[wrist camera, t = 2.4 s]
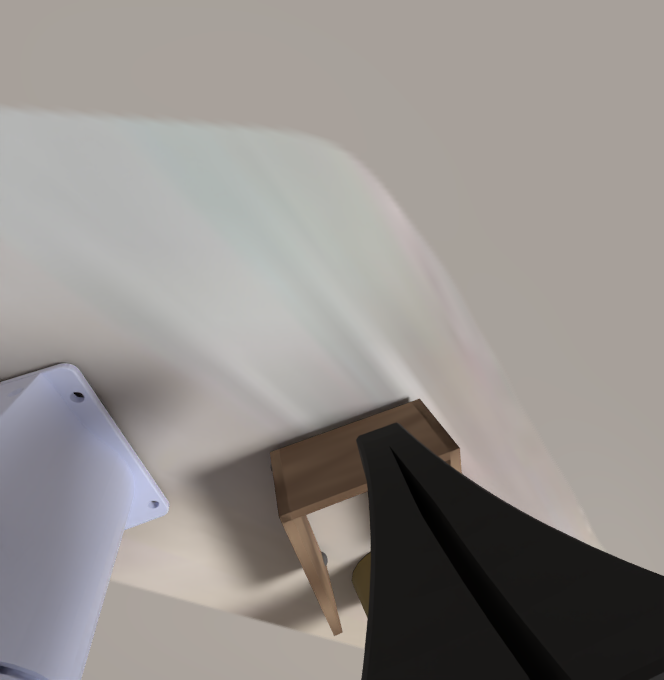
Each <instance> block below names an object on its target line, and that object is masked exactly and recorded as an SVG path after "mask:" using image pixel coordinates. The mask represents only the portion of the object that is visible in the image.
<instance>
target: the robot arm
mask: <svg viewBox="0 0 664 680" xmlns="http://www.w3.org/2000/svg"><path fill="white" fill-rule="evenodd" d="M74 392H79V393H82V394H83V395H84V397H77V396H76V395H74ZM356 442H357V446H358V450H359V454H360V458H361V461H362V465H363V469H364V473H365V477H366V480H367V488H368V496H369V510H370V530H371V569H370V592H369V609H368V621H367V632H366V642H365V653H364V663H363V671H362V679H361V680H664V576H662V575H659V574H657V573H654V572H652V571H649V570H647V569H644V568H641V567H639V566H637V565H634V564H632V563H629V562H627V561H624V560H622V559H619V558H617V557H615V556H613V555H611V554H608V553H606V552H604V551H601V550H599V549H597V548H594V547H592V546H590V545H588V544H586V543H584V542H582V541H580V540H577V539H575V538H573V537H571V536H569V535H567V534H565V533H563V532H561V531H559V530H557V529H555V528H553V527H551V526H548V525H546V524H544V523H542V522H541V521H539V520H537V519H535V518H533V517H531V516H529V515H528V514H526V513H524V512H522V511H520V510H518V509H517V508H515V507H513V506H512V505H510V504H508V503H506V502H505V501H503V500H501V499H500V498H498V497H496V496H495V495H493V494H492V493H490V492H488V491H487V490H485V489H484V488H482V487H481V486H479V485H478V484H476V483H475V482H473V481H472V480H470V479H469V478H467V477H466V476H464V475H463V474H461V473H460V472H459V471H457V470H456V469H454V468H453V467H452V466H450V465H449V464H448V463H446V462H445V461H444V460H442V459H441V458H440V457H438V456H437V455H436V454H434V453H433V452H432V451H431V450H429V449H428V448H427V447H426V446H425V445H423V444H422V443H421V442H420V441H418V440H417V439H416V438H415V437H414V436H413V435H412V434H410V433H409V432H408V431H407V430H406V429H405V428H404V427H403V426H402V425H401V424H399V423H397V422H396V423H393V424H390V425H387V426H385V427H382V428H379V429H376V430H373V431H371V432H368V433H365V434H362V435H359V436H358V438H357V439H356ZM151 501H157V502H151ZM168 510H169V502H168V500H167V499H166V497H165V496H164V494H163V493H162V491H161V490H160V488H159V487H158V485H157V484H156V482H155V481H154V479H153V478H152V477H151V475H150V474H149V472H148V471H147V469H146V468H145V466H144V465H143V463H142V462H141V460H140V459H139V457H138V456H137V454H136V453H135V451H134V450H133V448H132V447H131V445H130V444H129V443H128V441H127V440H126V438H125V437H124V435H123V434H122V432H121V431H120V429H119V428H118V426H117V425H116V423H115V422H114V420H113V419H112V417H111V416H110V414H109V413H108V411H107V410H106V409H105V407H104V406H103V404H102V403H101V401H100V400H99V398H98V397H97V395H96V394H95V392H94V391H93V389H92V388H91V386H90V385H89V383H88V382H87V380H86V379H85V377H84V376H83V374H82V373H81V372H80V370H79V369H78V368H77V367H76V366H74V365H72V364H68V363H62V364H58V365H54V366H51V367H48V368H44V369H41V370H38V371H35V372H31V373H28V374H25V375H22V376H18V377H15V378H12V379H9V380H5V381H2V382H0V680H81V677H82V674H83V670H84V667H85V664H86V660H87V657H88V653H89V650H90V646H91V643H92V639H93V636H94V632H95V629H96V625H97V621H98V619H99V615H100V612H101V608H102V605H103V601H104V598H105V594H106V591H107V587H108V584H109V581H110V577H111V574H112V570H113V567H114V563H115V560H116V556H117V553H118V549H119V546H120V542H121V539H122V536H123V532H124V530H126V529H129V528H131V527H134V526H137V525H140V524H142V523H145V522H148V521H151V520H153V519H156V518H159V517H161V516H164V515H165V514H167V512H168Z"/></svg>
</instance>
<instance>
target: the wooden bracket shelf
mask: <svg viewBox="0 0 664 680" xmlns="http://www.w3.org/2000/svg"><path fill="white" fill-rule="evenodd" d="M396 422H397V423H399V424H401V425H402V426H403V427H404V428H405V429H406V430H407V431H408V432H409V433H410V434H412V435H413V436H414V437H415V438H416V439H417V440H418V441H420V442H421V443H422V444H423V445H425V446H426V447H427V448H428V449H429V450H431V451H432V452H433V453H434V454H436V455H437V456H438V457H440V458H441V459H442V460H444V461H445V462H446V463H448V464H449V465H450V466H452V467H453V468H454V469H456V470H457V471H459V472H460V473H461V474H462V472H461V459H460V448H459V447H458V445H457V444H456V443H455V442H454V440H453V439H452V438H451V437H450V435H449V434H448V433H447V432H446V431H445V429H444V428H443V427H442V426H441V424H440V423H439V422H438V421H437V419H436V418H435V417H434V416H433V414H432V413H431V412H430V411H429V410H428V408H427V407H426V406H425V405H424V403H423V402H422V401H421V400H420V399H418V400H415V401H412V402H409V403H406V404H404V405H401V406H398V407H395V408H392V409H390V410H387V411H384V412H381V413H378V414H376V415H373V416H370V417H367V418H364V419H362V420H359V421H356V422H353V423H350V424H348V425H345V426H342V427H339V428H336V429H334V430H331V431H328V432H325V433H322V434H320V435H317V436H314V437H311V438H308V439H306V440H303V441H300V442H297V443H294V444H292V445H289V446H286V447H283V448H280V449H278V450H275V451H272V452H270V456H271V470H272V472H273V478H274V485H275V492H276V499H277V507H278V514H279V518H280V520H281V522H282V524H283V527H284V529H285V531H286V533H287V535H288V537H289V539H290V542H291V544H292V546H293V548H294V550H295V552H296V555H297V557H298V559H299V561H300V563H301V565H302V567H303V570H304V572H305V574H306V576H307V578H308V580H309V582H310V585H311V587H312V589H313V591H314V593H315V595H316V597H317V600H318V602H319V604H320V606H321V608H322V610H323V613H324V615H325V617H326V619H327V621H328V623H329V625H330V628H331V630H332V632H333V634H334V636H335V635H338V634H340V633H342V628H341V624H340V620H339V616H338V611H337V607H336V603H335V599H334V595H333V591H332V586H331V582H330V578H329V574H328V570H327V566H326V565H327V556H326V554H325V553H323V552H321V551H320V548H319V546H318V543H317V541H316V539H315V536H314V534H313V531H312V529H311V526H310V524H309V521H308V519H307V516H306V515H307V514H309V513H312V512H315V511H317V510H320V509H322V508H325V507H328V506H330V505H333V504H335V503H338V502H341V501H343V500H346V499H349V498H351V497H354V496H356V495H359V494H362V493H364V492H367V491H368V488H367V480H366V477H365V473H364V469H363V465H362V461H361V458H360V454H359V450H358V446H357V442H356V439H357V438H358V436H359V435H362V434H365V433H368V432H371V431H373V430H376V429H379V428H382V427H385V426H387V425H390V424H393V423H396Z"/></svg>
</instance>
